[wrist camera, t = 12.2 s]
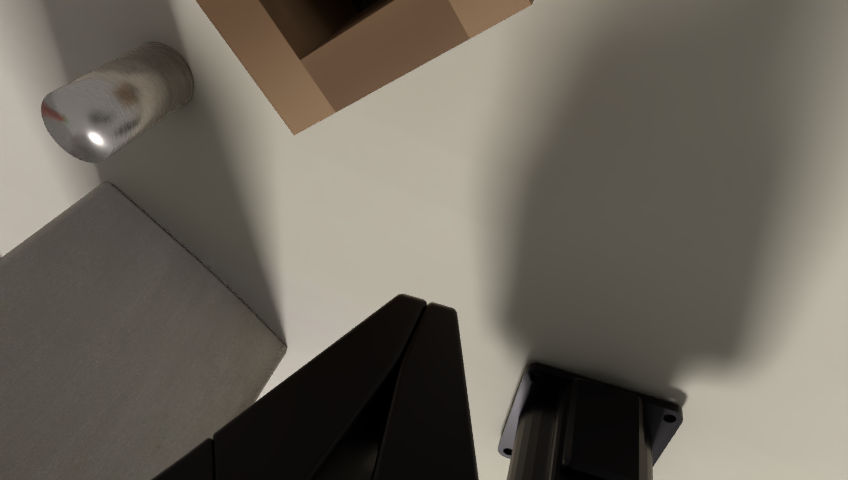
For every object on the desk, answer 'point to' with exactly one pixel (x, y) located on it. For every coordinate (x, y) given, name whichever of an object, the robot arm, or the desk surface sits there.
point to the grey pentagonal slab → (118, 348)
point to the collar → (342, 45)
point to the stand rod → (117, 101)
